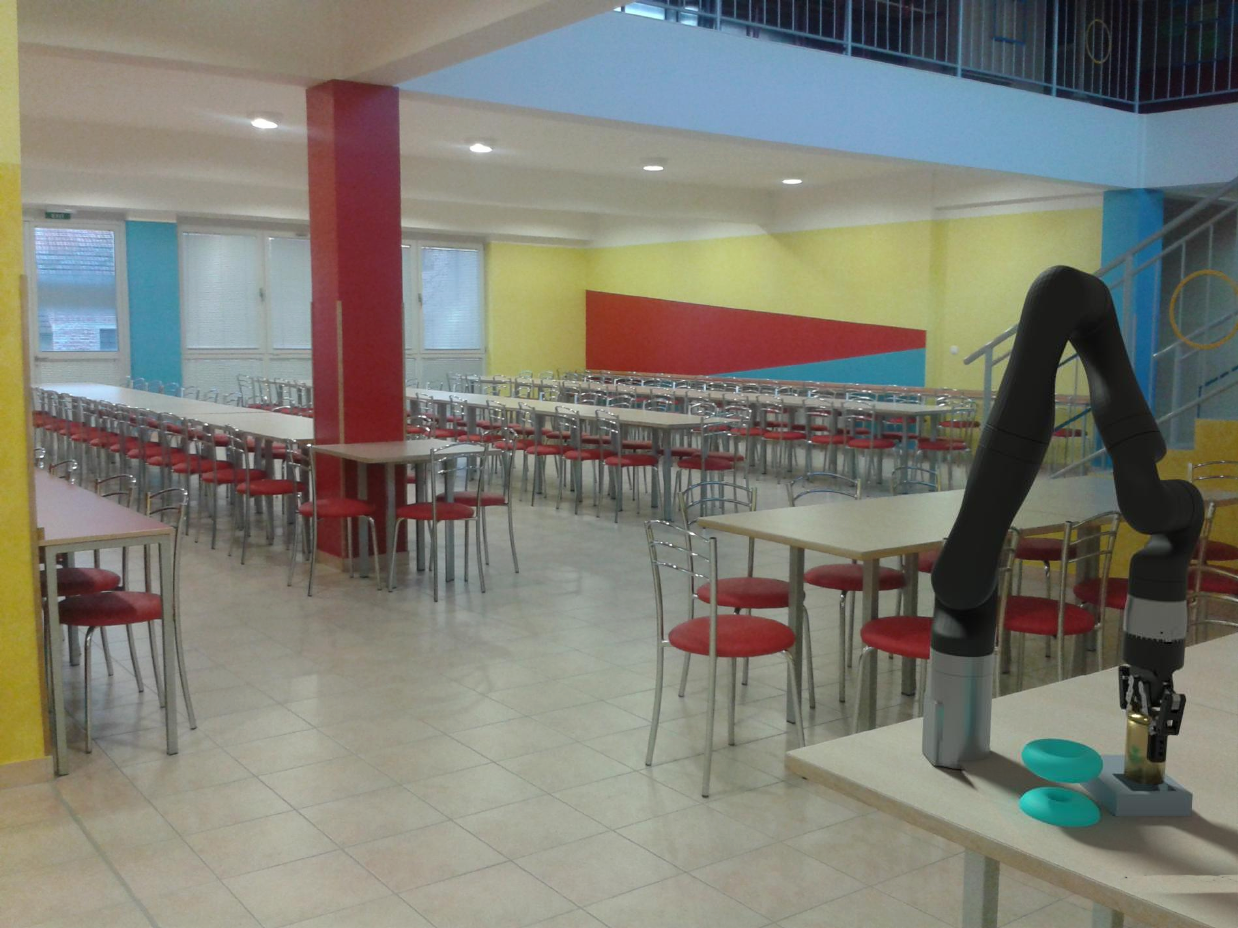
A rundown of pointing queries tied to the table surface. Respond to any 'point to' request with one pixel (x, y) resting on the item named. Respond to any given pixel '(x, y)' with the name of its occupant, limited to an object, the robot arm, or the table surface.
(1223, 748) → the table surface
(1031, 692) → the table surface
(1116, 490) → the robot arm
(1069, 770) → the donuts
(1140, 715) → the gold battery
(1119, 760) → the housing
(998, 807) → the table surface
